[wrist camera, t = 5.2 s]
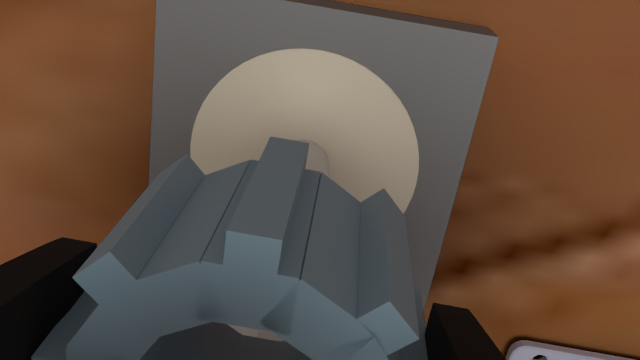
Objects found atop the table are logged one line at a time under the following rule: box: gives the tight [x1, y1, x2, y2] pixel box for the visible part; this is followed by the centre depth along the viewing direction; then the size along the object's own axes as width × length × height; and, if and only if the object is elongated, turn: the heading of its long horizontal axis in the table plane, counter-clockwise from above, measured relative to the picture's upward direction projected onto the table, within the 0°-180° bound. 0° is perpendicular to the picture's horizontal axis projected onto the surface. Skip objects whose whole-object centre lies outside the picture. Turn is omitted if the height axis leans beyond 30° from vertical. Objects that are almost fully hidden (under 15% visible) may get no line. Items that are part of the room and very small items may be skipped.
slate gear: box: [31, 136, 428, 360], centre depth 10 cm, size 6×6×4 cm
